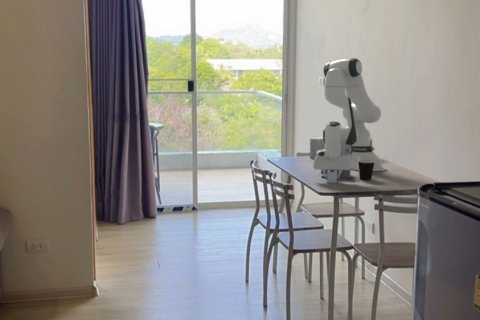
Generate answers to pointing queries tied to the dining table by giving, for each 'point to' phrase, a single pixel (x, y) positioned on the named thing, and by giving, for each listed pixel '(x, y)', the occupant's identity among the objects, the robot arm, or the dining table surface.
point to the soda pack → (319, 144)
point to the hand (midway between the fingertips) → (332, 177)
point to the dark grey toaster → (344, 174)
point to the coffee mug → (365, 169)
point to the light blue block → (331, 176)
